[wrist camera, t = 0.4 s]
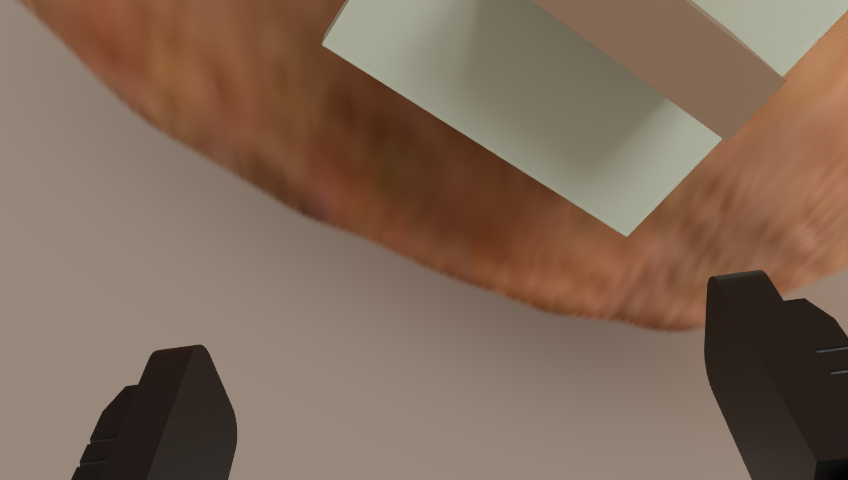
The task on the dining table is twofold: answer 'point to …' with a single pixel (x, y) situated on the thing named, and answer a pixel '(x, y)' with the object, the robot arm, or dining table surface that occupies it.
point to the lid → (587, 81)
